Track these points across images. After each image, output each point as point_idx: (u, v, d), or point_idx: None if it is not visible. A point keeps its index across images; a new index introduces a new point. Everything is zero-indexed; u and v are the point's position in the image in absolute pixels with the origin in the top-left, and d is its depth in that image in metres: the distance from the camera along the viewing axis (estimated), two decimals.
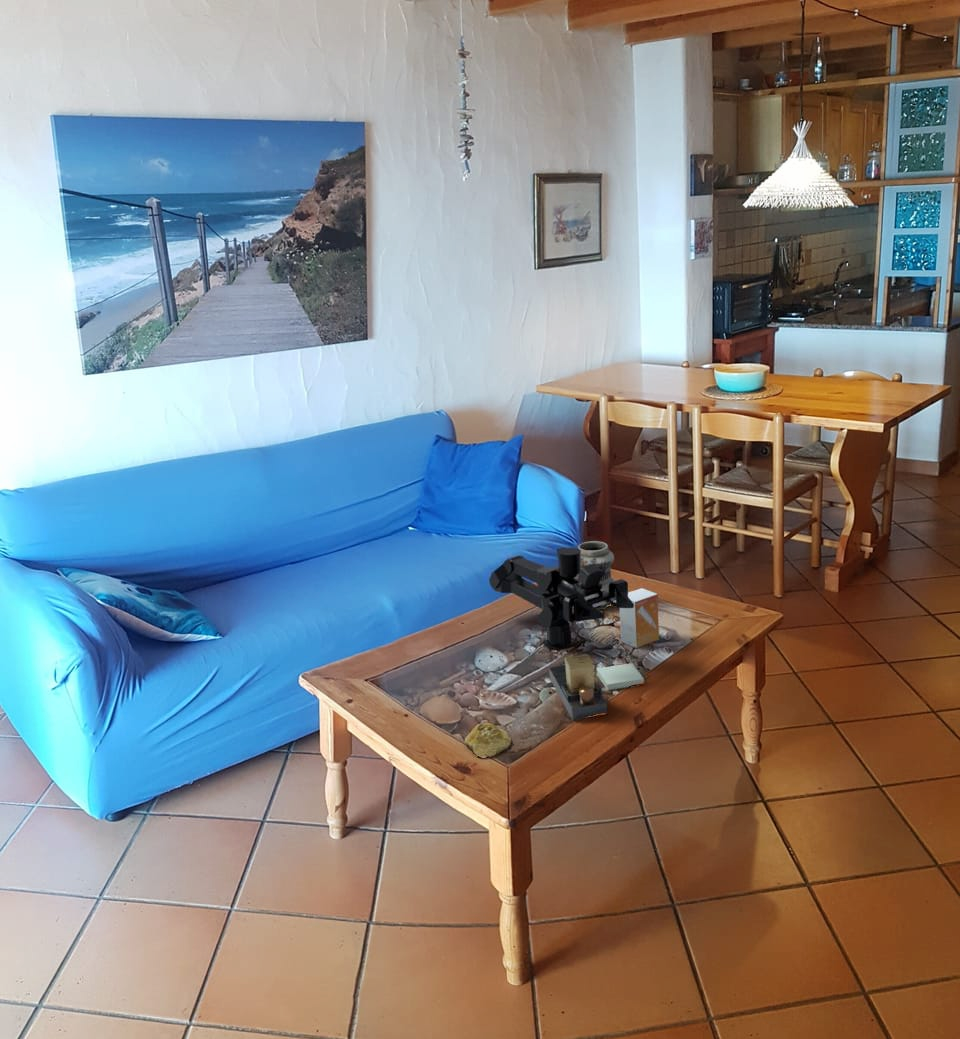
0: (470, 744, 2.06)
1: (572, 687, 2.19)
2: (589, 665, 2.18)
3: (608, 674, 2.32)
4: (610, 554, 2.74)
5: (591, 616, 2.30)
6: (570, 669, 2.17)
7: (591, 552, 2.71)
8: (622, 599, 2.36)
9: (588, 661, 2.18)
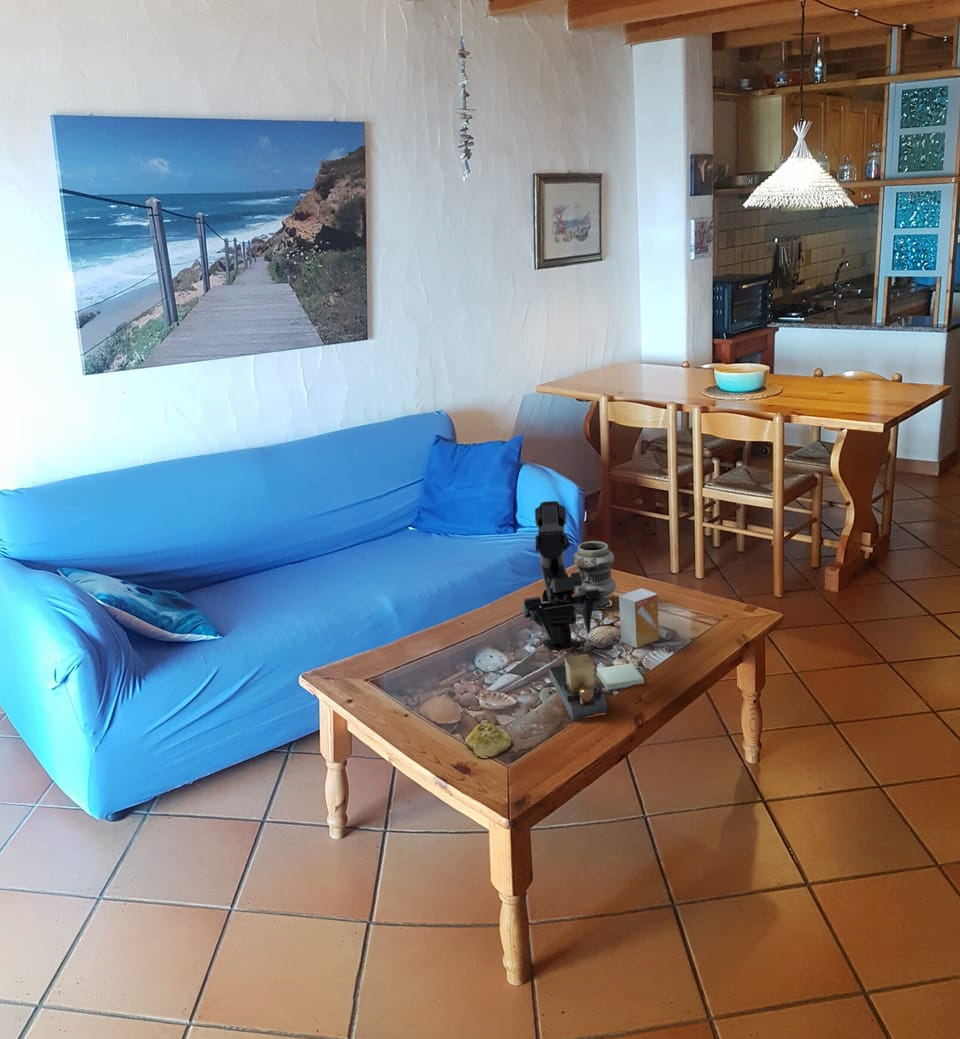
0: (470, 744, 2.06)
1: (572, 687, 2.19)
2: (589, 665, 2.18)
3: (608, 674, 2.32)
4: (610, 554, 2.74)
5: (543, 629, 2.28)
6: (570, 669, 2.17)
7: (591, 552, 2.71)
8: (585, 616, 2.28)
9: (588, 661, 2.18)
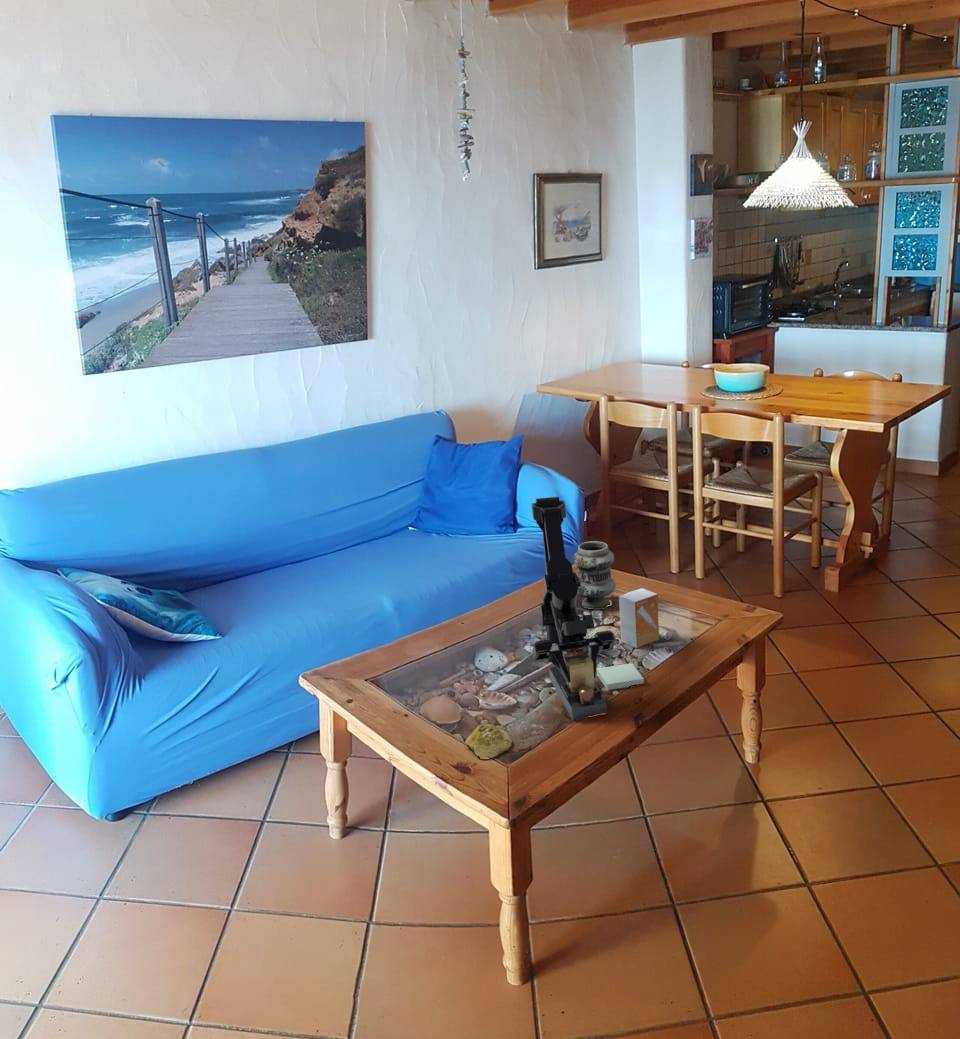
0: (471, 745, 2.05)
1: (572, 687, 2.19)
2: (589, 665, 2.18)
3: (608, 674, 2.32)
4: (610, 554, 2.74)
5: (560, 671, 2.21)
6: (570, 669, 2.17)
7: (591, 552, 2.71)
8: None
9: (588, 661, 2.18)
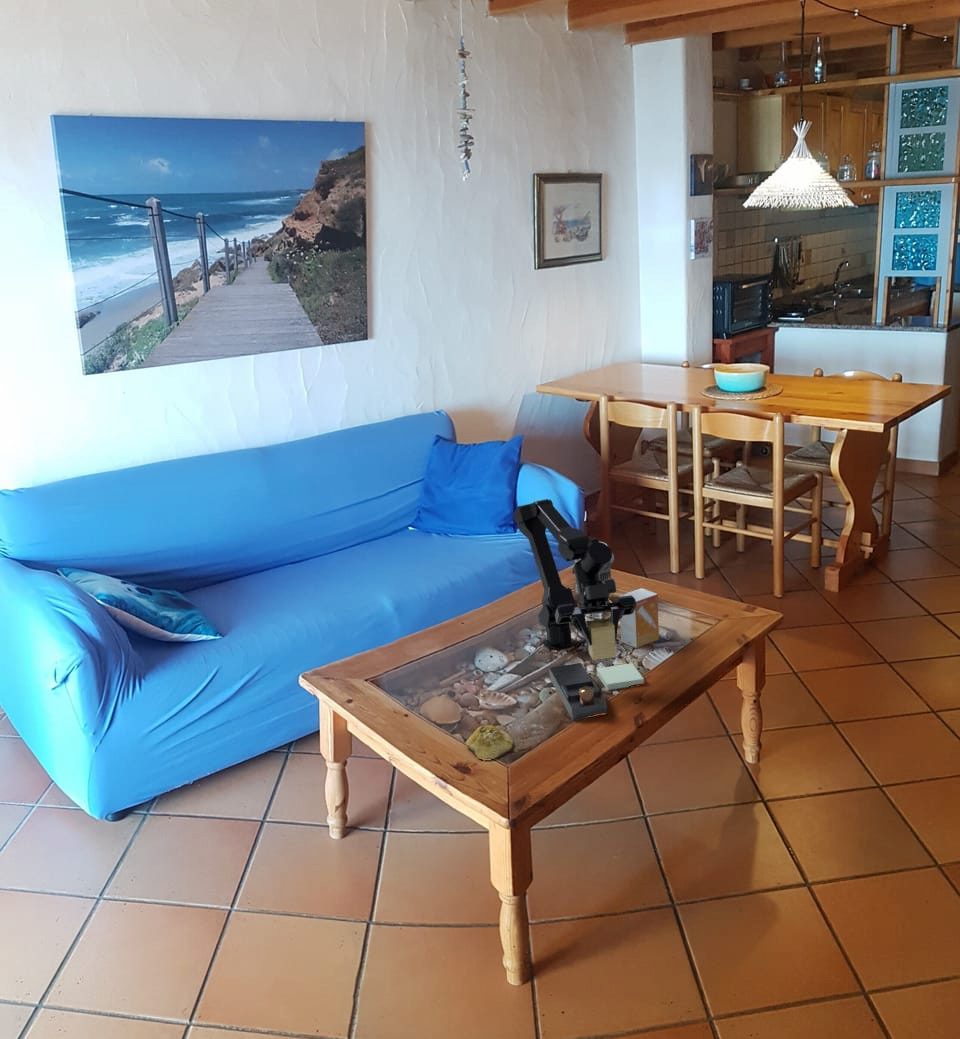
0: (471, 746, 2.05)
1: (594, 650, 2.23)
2: (611, 628, 2.22)
3: (608, 674, 2.32)
4: None
5: (582, 634, 2.26)
6: (592, 632, 2.22)
7: None
8: None
9: (610, 625, 2.23)
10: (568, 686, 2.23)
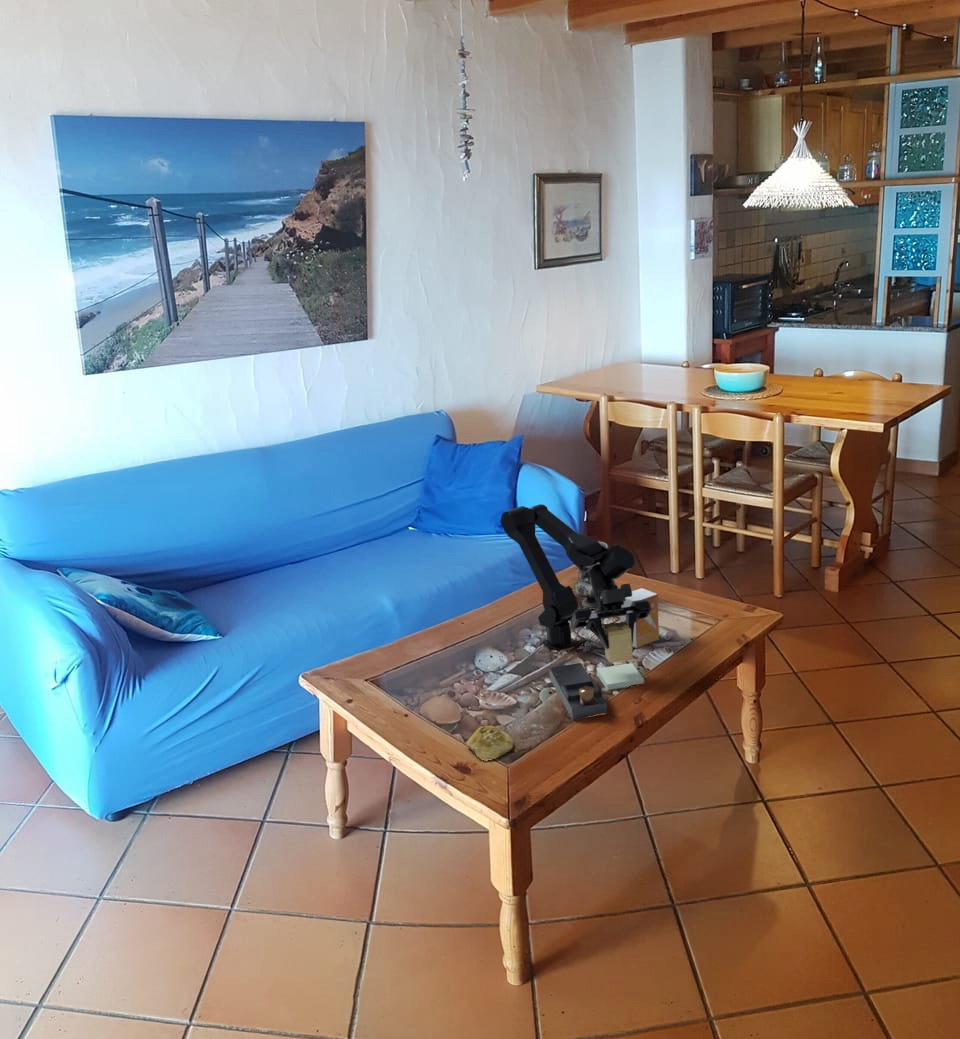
0: (472, 746, 2.05)
1: (611, 653, 2.28)
2: (627, 632, 2.27)
3: (608, 674, 2.32)
4: None
5: (599, 638, 2.30)
6: (609, 635, 2.27)
7: None
8: None
9: (626, 628, 2.28)
10: (568, 686, 2.23)
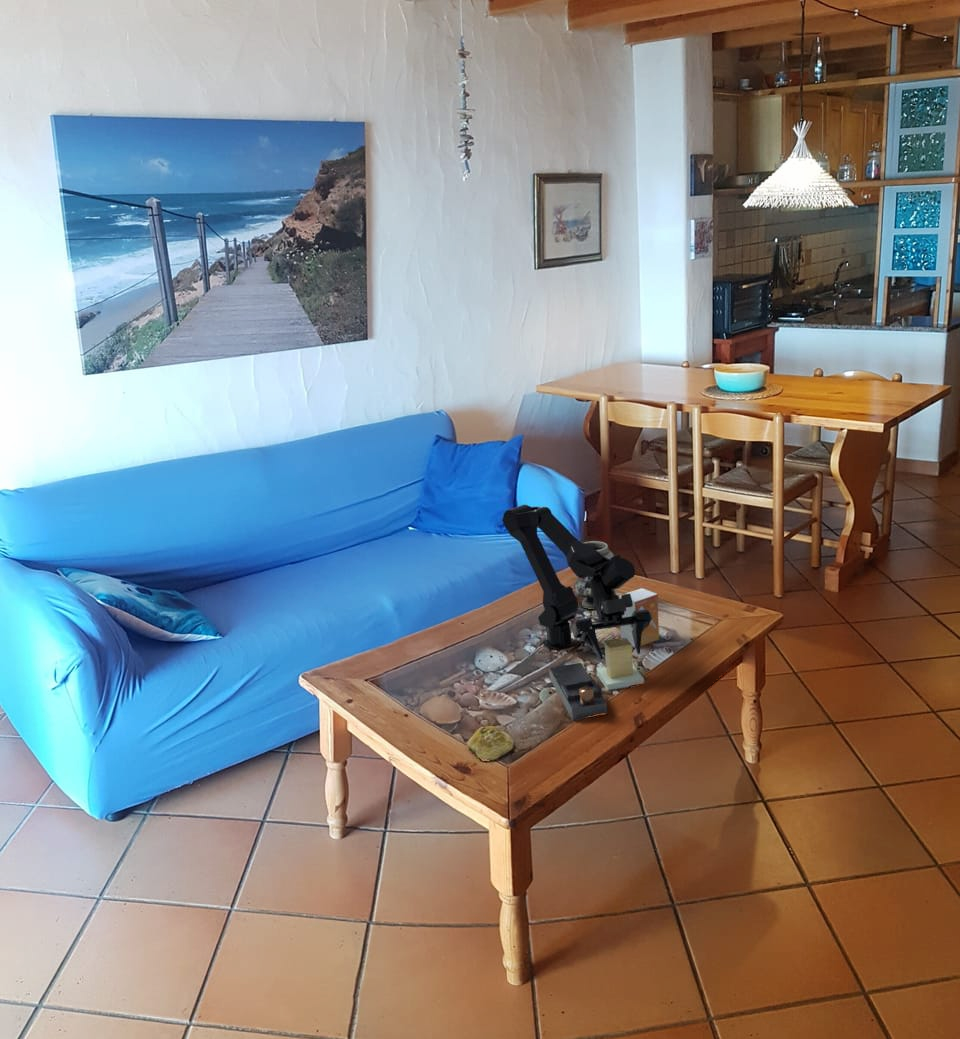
0: (472, 747, 2.04)
1: (612, 669, 2.29)
2: (628, 648, 2.28)
3: None
4: (610, 554, 2.74)
5: (593, 649, 2.31)
6: (610, 651, 2.28)
7: None
8: (635, 636, 2.32)
9: (627, 644, 2.29)
10: (568, 686, 2.23)
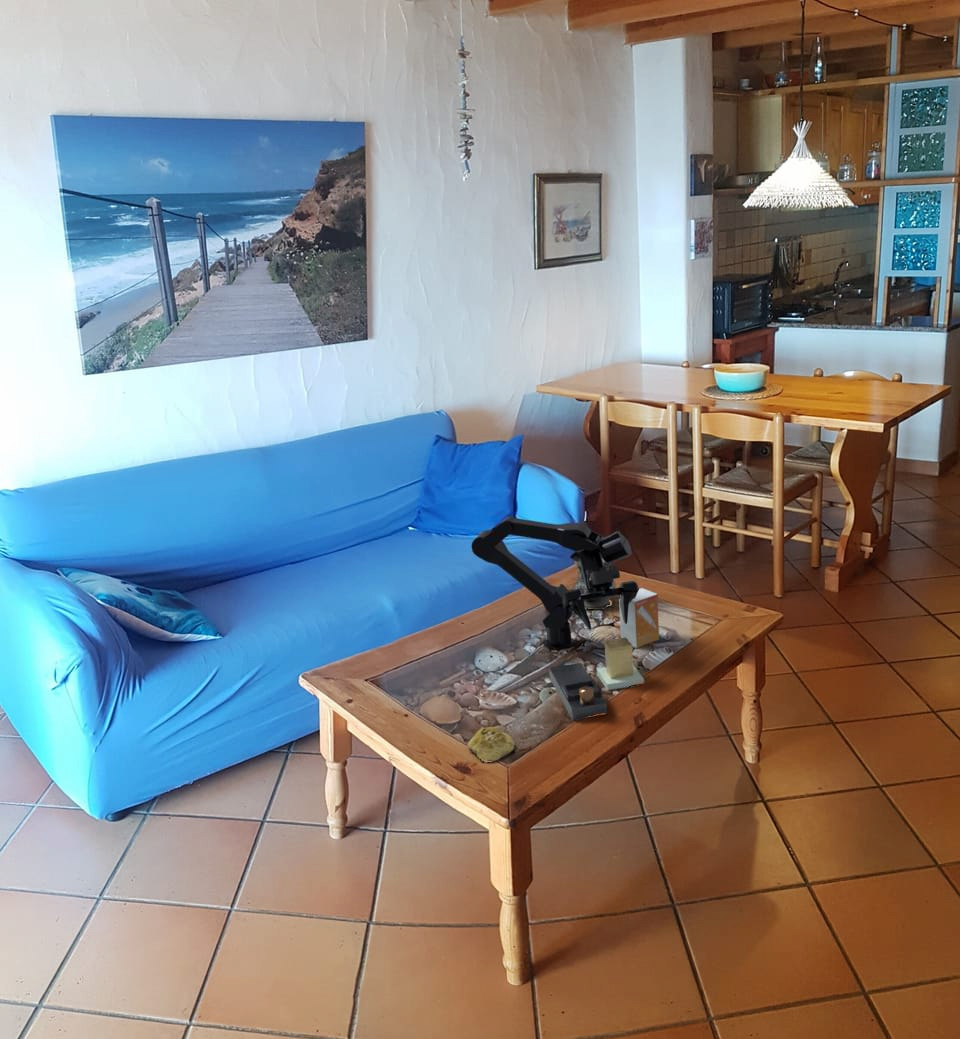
0: (473, 748, 2.04)
1: (612, 669, 2.29)
2: (628, 648, 2.28)
3: None
4: None
5: (582, 619, 2.39)
6: (610, 651, 2.28)
7: None
8: (623, 607, 2.39)
9: (627, 644, 2.29)
10: (568, 686, 2.23)
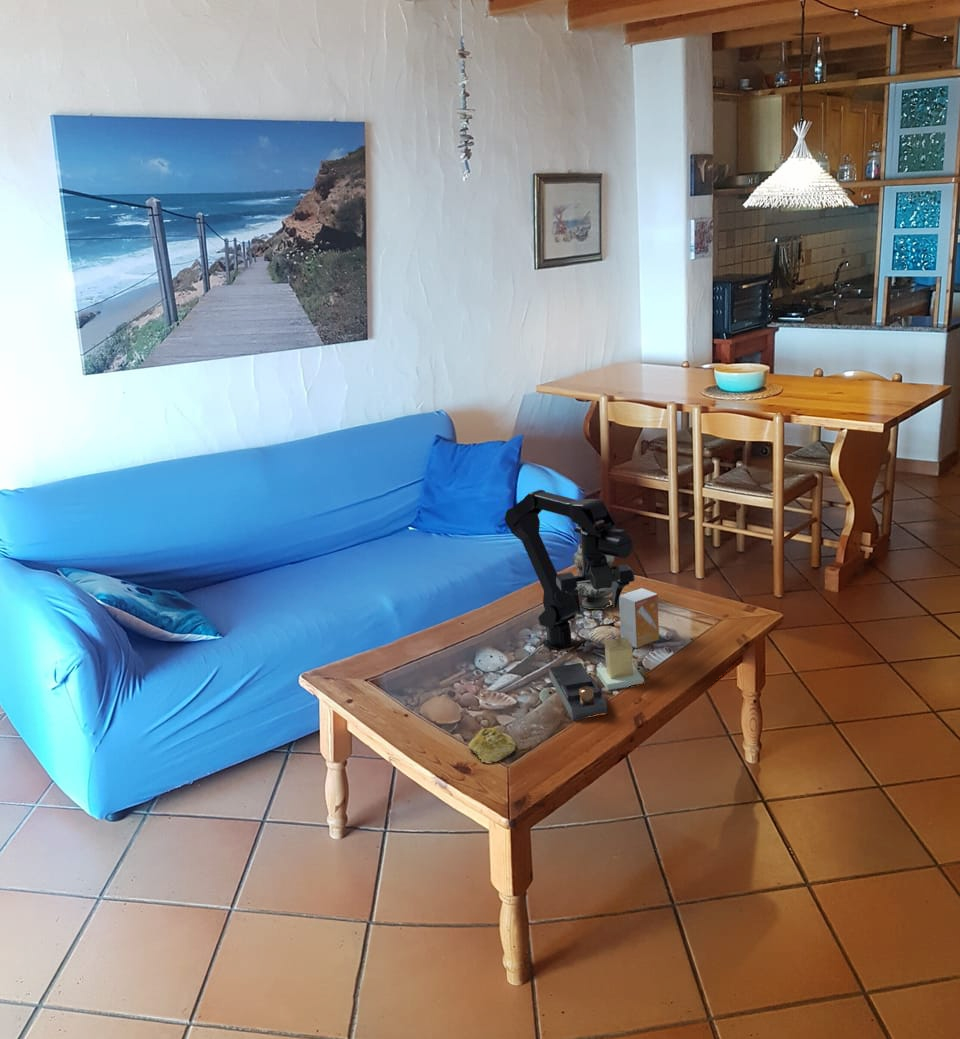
0: (474, 749, 2.04)
1: (612, 669, 2.29)
2: (628, 648, 2.28)
3: None
4: None
5: (573, 600, 2.41)
6: (610, 651, 2.28)
7: None
8: (614, 591, 2.41)
9: (627, 644, 2.29)
10: (568, 686, 2.23)
